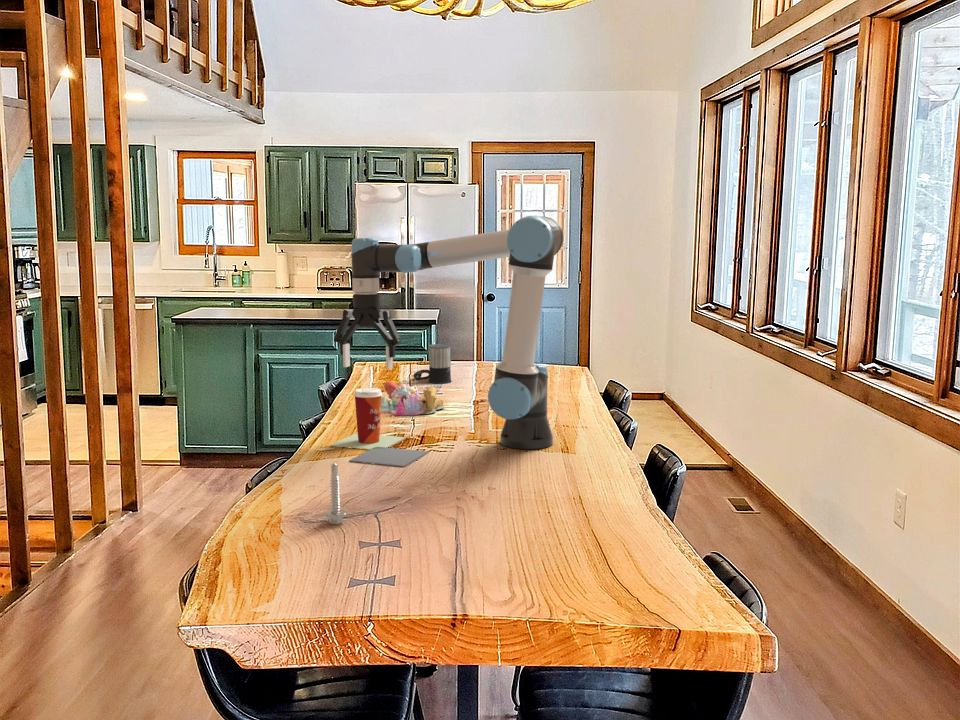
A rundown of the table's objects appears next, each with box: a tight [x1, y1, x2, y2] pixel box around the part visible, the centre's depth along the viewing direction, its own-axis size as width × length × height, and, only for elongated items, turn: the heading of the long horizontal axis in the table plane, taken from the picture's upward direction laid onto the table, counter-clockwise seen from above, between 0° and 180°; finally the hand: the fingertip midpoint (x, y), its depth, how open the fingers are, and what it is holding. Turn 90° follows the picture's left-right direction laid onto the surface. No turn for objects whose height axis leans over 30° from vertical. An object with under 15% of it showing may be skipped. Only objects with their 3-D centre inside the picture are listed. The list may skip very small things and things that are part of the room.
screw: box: [323, 462, 348, 526], centre depth 189 cm, size 13×5×5 cm
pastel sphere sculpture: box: [381, 380, 445, 417], centre depth 307 cm, size 25×24×9 cm
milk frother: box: [413, 343, 452, 384], centre depth 362 cm, size 14×16×15 cm
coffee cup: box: [353, 387, 383, 444], centre depth 258 cm, size 8×8×15 cm
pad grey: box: [348, 447, 430, 468], centre depth 243 cm, size 16×16×1 cm
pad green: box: [329, 432, 406, 451], centre depth 260 cm, size 16×16×1 cm
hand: (368, 367), depth 256 cm, fingers open, 13 cm apart
